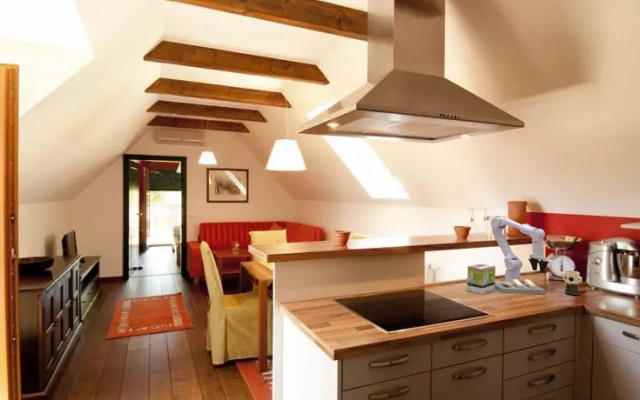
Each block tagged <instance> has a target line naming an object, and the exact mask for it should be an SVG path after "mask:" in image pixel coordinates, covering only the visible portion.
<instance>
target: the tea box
mask: <svg viewBox="0 0 640 400" xmlns="http://www.w3.org/2000/svg"><path fill="white" fill-rule="evenodd" d="M466 275H467V277H466V291H467V292H471V293H475V294H479V295H484V294H488V293H489V292H493V291H495V290H496V289H495V283H496V266H495V265H489V264H483V263H477V264H473V265H469V266H468V265H467V273H466Z"/></svg>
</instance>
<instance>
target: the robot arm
mask: <svg viewBox="0 0 640 400" xmlns="http://www.w3.org/2000/svg"><path fill="white" fill-rule="evenodd" d="M490 226H491V231H492V235H493V236H494V239H495V241H496V242H497V244H498V246H499V248H500V250H501V252H502V254H503V256H504V259H503V262H504V265H505V266H504V267H505V269H506V270H505V271H504V282H511V283H513V282H512V279H517V280H518V281H519V282H521V268H522V267H523V261H522V260H521V259H520V258H519V257H518V256H517V255H516V254H514V252H513V249H512V248H511V247H510V244H509V243H508V241H507V239H506V237H505V235H504V233H503V231H504V230H505V228H506V227H507V226H508V227H512V228H515V229H517V230H519V232H520V233H522V234H524V235H527V236H529V237H530V238H531V244H532V254H529V258H528V261H529V264H530V265H531V269H532V271H538V266H539V272H540V274H545V272H546V269H547V266H548V265H549V263H550V262H549V260H548V257H546V256H545V255H544V254H545V253H544V250H545V249H544V238H545V237H546V232H545V231H544V229H542V228H537V227H535V226H531V225H530V224H529V223H523V224H521V223H518V222H517V221H514V220H512V219H510V218H508V217H506V216H505V217H504V216H501V217H496V216H495V217H492V219H491V221H490Z"/></svg>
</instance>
